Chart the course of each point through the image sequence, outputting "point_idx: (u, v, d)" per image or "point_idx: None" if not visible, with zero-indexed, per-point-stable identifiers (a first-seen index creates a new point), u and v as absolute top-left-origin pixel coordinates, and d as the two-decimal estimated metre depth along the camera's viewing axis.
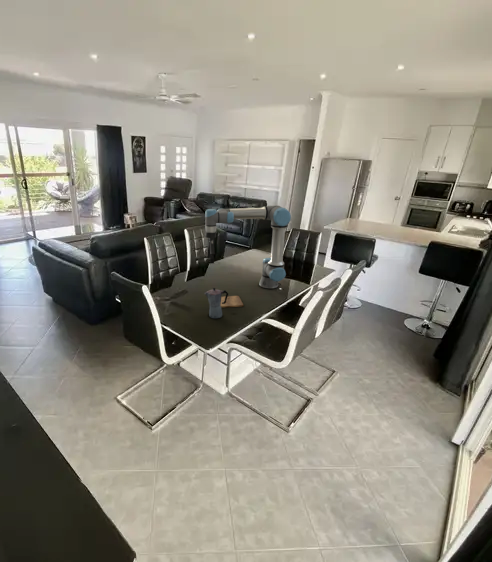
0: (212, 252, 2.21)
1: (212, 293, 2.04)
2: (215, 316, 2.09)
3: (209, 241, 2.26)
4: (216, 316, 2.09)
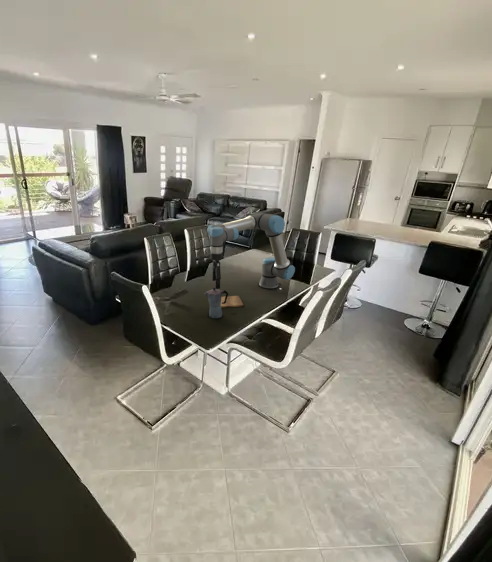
0: (218, 276, 1.93)
1: (212, 293, 2.04)
2: (215, 316, 2.09)
3: (214, 263, 1.98)
4: (216, 316, 2.09)
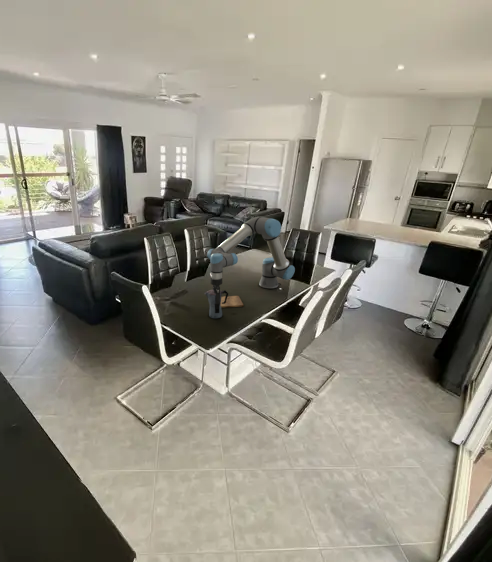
0: (217, 302, 2.02)
1: (212, 293, 2.04)
2: (215, 316, 2.09)
3: None
4: (216, 316, 2.09)
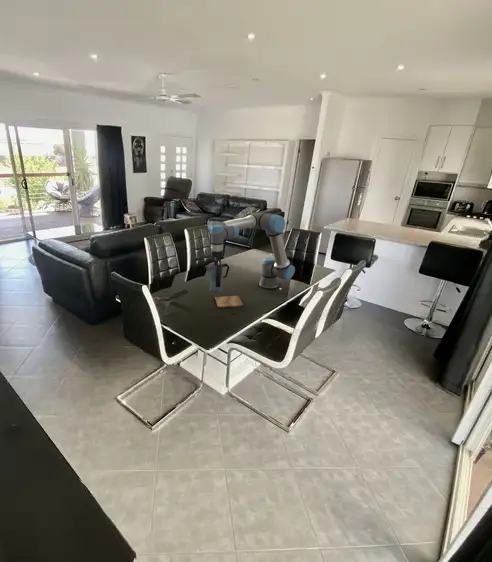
0: (218, 275, 1.96)
1: (213, 266, 1.98)
2: (216, 290, 2.03)
3: (215, 261, 1.98)
4: (217, 290, 2.03)
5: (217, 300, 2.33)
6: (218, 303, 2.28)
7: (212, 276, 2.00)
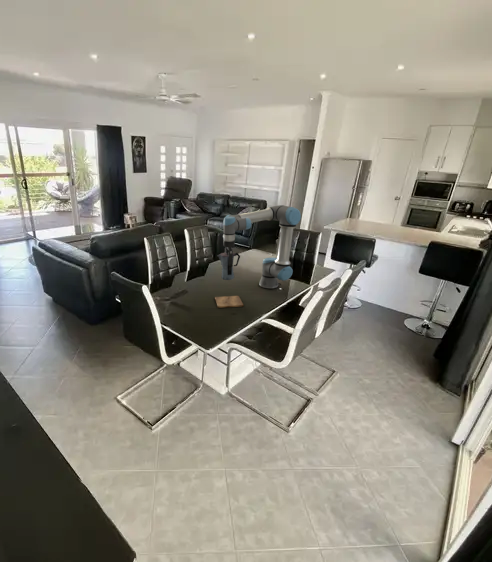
0: (230, 263, 2.12)
1: (225, 255, 2.14)
2: (227, 278, 2.19)
3: (227, 251, 2.14)
4: (228, 278, 2.19)
5: (217, 300, 2.33)
6: (218, 303, 2.28)
7: (224, 264, 2.16)
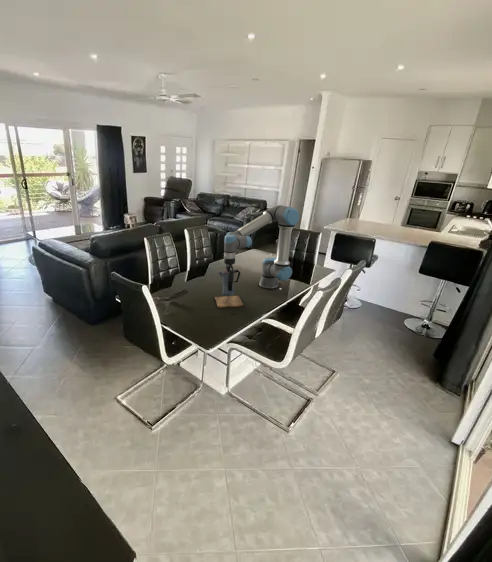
0: (231, 280, 2.18)
1: (225, 272, 2.20)
2: (228, 294, 2.25)
3: (228, 268, 2.20)
4: (229, 294, 2.25)
5: (217, 300, 2.33)
6: (218, 303, 2.28)
7: (225, 281, 2.23)
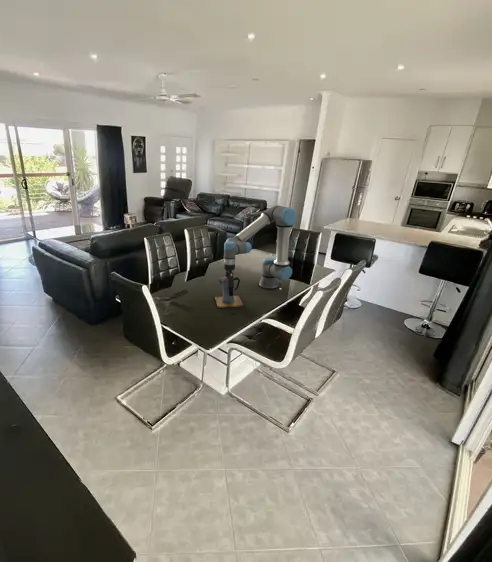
0: (231, 285, 2.17)
1: (225, 279, 2.23)
2: (228, 301, 2.27)
3: (228, 273, 2.22)
4: (229, 301, 2.27)
5: (217, 300, 2.33)
6: (218, 303, 2.28)
7: (224, 288, 2.25)
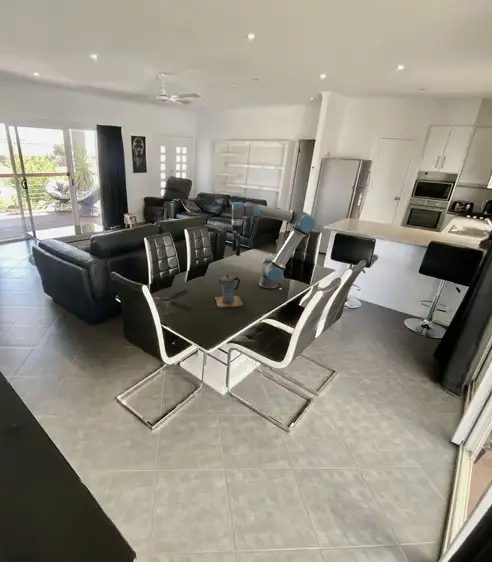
0: (238, 244, 2.25)
1: (225, 279, 2.23)
2: (228, 301, 2.27)
3: (235, 234, 2.29)
4: (229, 301, 2.27)
5: (217, 300, 2.33)
6: (218, 303, 2.28)
7: (224, 288, 2.25)
